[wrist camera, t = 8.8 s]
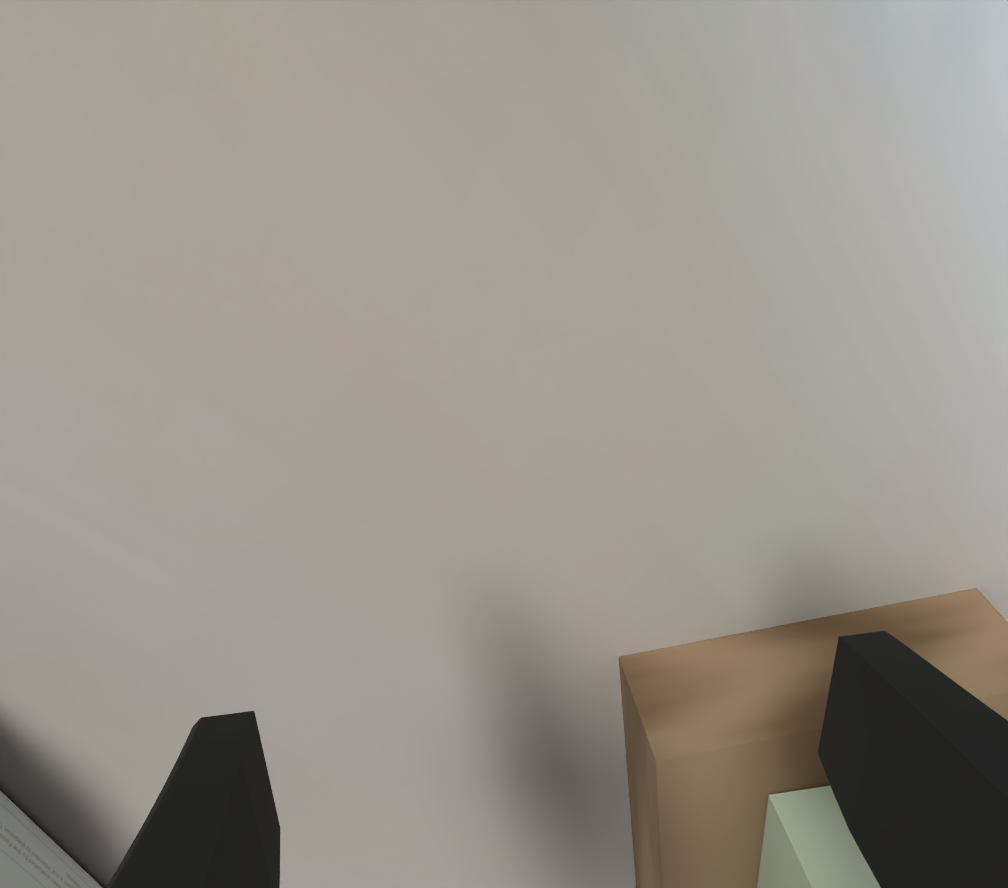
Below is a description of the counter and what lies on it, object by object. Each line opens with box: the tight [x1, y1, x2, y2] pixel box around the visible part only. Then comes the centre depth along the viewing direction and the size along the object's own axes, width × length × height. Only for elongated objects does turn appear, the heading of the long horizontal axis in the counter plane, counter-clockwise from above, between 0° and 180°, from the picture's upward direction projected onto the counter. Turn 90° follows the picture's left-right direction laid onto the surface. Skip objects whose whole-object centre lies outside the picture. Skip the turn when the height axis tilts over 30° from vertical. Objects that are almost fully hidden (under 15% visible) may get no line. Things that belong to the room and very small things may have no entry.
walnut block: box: [619, 588, 1008, 888], centre depth 27 cm, size 10×10×4 cm
